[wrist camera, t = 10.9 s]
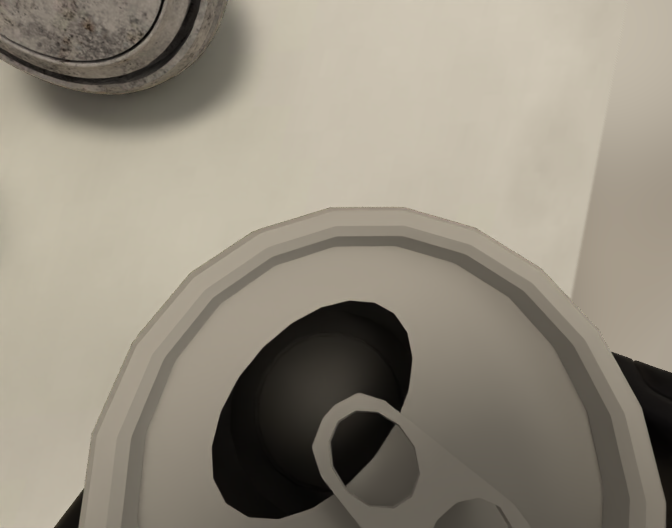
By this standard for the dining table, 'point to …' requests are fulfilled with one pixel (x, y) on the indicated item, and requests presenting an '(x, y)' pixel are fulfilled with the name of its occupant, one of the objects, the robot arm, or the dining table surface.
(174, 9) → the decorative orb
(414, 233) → the can
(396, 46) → the dining table surface
